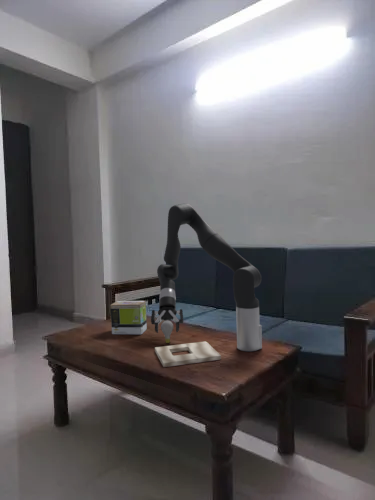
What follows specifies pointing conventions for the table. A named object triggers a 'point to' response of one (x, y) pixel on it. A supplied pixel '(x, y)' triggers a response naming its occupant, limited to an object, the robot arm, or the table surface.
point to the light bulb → (167, 330)
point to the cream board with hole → (197, 350)
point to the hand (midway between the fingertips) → (167, 331)
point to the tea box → (128, 317)
